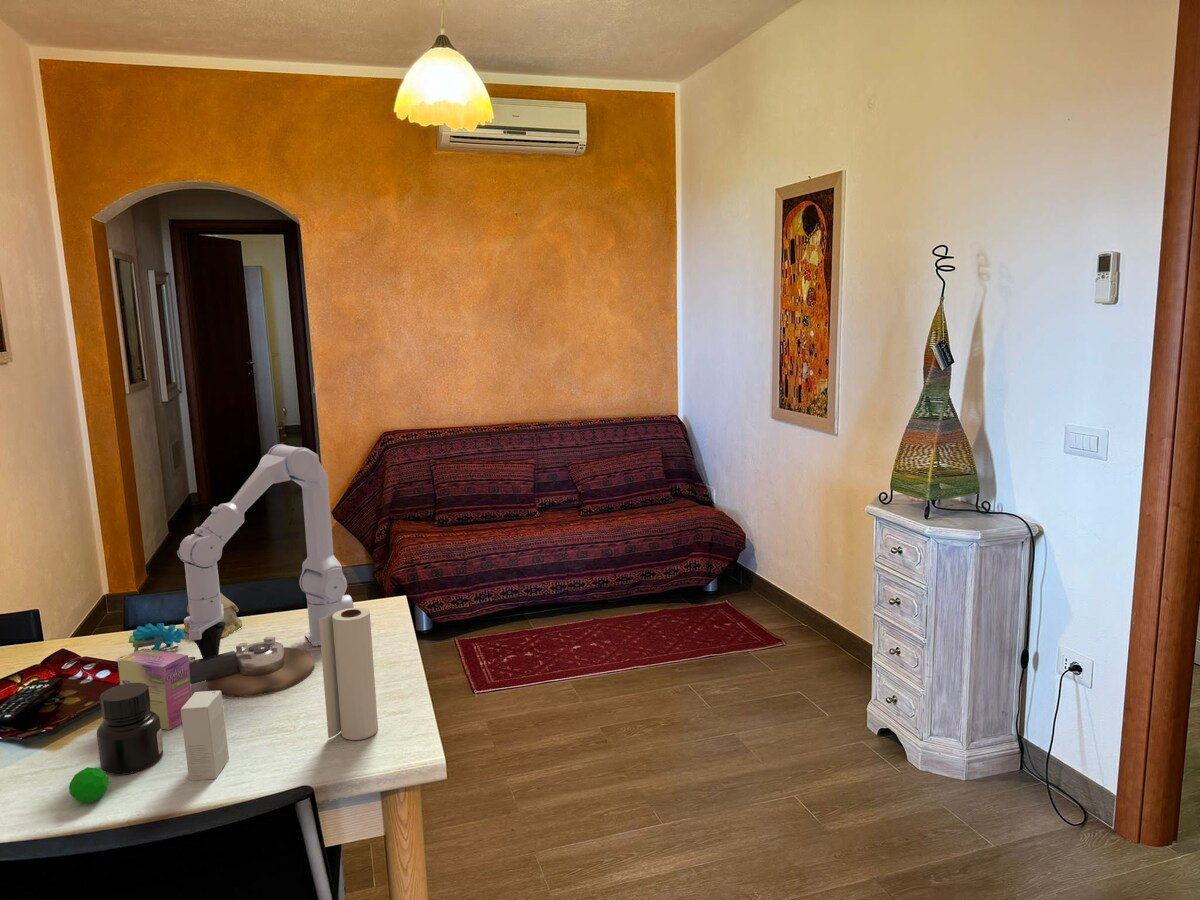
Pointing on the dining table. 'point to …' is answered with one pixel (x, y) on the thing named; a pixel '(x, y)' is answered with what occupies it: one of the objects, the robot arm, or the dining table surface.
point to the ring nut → (239, 661)
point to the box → (160, 681)
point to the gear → (155, 636)
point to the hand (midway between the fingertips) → (211, 661)
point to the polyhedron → (88, 785)
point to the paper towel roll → (349, 673)
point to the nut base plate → (267, 676)
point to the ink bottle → (128, 730)
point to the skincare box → (204, 735)
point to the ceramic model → (225, 617)
